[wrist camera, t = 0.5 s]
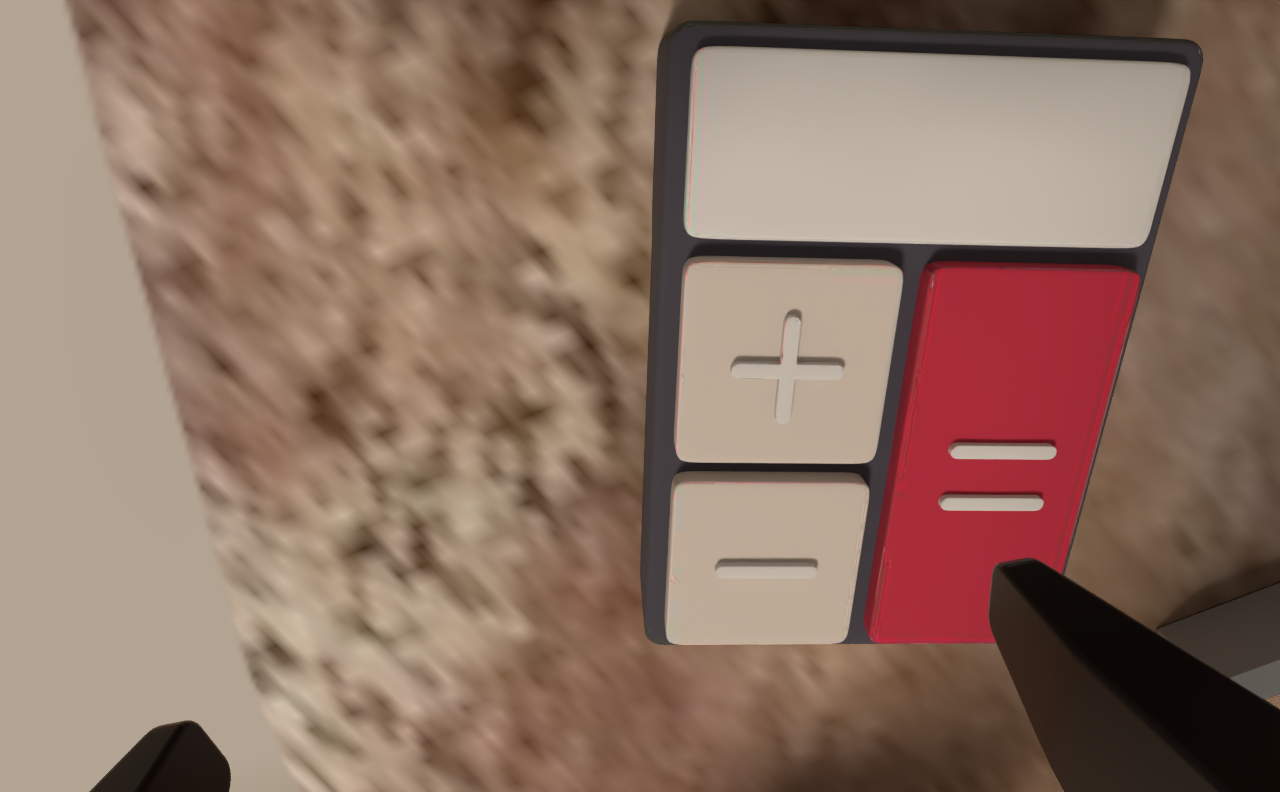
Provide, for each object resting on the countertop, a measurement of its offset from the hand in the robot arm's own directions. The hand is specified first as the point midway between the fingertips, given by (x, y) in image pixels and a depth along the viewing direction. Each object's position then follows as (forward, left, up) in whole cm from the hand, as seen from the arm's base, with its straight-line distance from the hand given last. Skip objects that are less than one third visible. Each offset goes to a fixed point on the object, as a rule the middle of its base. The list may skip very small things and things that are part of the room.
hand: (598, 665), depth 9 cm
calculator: (-3, -6, -13) cm, 15 cm away
